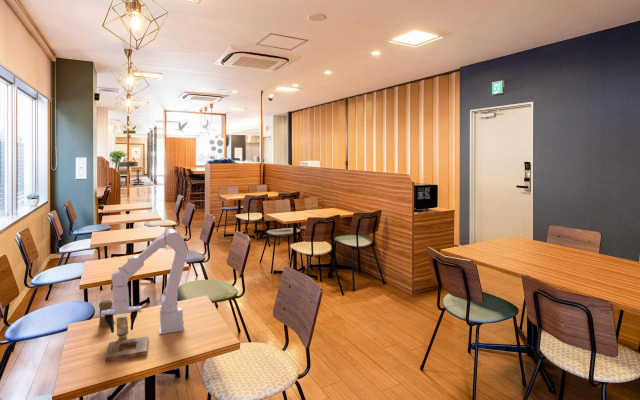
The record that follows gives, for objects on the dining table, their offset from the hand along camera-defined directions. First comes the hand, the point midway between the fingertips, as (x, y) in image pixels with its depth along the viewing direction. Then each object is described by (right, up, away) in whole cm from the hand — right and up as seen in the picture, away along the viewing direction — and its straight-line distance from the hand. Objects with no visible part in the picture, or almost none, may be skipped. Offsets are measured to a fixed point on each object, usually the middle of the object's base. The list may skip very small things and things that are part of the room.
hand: (122, 330), depth 153 cm
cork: (-13, -2, +12) cm, 18 cm away
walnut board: (+7, -5, -10) cm, 13 cm away
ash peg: (0, -3, 0) cm, 3 cm away
